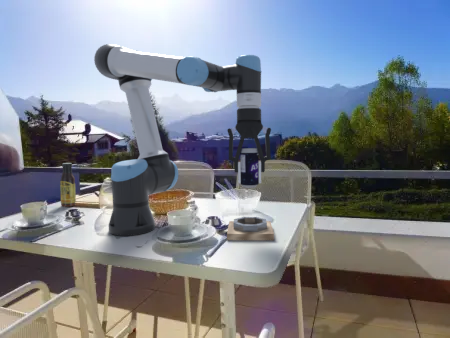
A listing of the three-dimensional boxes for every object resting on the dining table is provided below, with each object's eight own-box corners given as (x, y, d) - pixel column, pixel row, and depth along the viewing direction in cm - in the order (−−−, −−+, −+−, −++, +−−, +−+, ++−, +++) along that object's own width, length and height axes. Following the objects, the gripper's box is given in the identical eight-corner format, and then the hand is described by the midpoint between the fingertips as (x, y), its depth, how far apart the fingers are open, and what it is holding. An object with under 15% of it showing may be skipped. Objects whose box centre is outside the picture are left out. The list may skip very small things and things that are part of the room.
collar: (233, 231, 99) (233, 225, 99) (234, 222, 109) (234, 216, 109) (267, 232, 98) (267, 225, 98) (265, 222, 109) (265, 216, 108)
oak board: (227, 240, 98) (227, 233, 97) (229, 226, 111) (229, 221, 111) (273, 240, 97) (273, 233, 96) (270, 227, 111) (270, 221, 110)
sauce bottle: (57, 207, 148) (54, 163, 146) (68, 204, 154) (65, 162, 152) (69, 207, 146) (66, 163, 144) (79, 204, 152) (76, 162, 150)
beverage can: (252, 188, 99) (252, 149, 97) (237, 187, 102) (236, 149, 101) (262, 186, 103) (261, 148, 102) (247, 184, 106) (246, 148, 105)
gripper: (217, 107, 97) (219, 184, 99) (280, 106, 96) (280, 184, 98) (219, 109, 104) (221, 181, 107) (278, 108, 103) (278, 180, 105)
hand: (249, 182), depth 102 cm, fingers closed on beverage can, 6 cm apart
